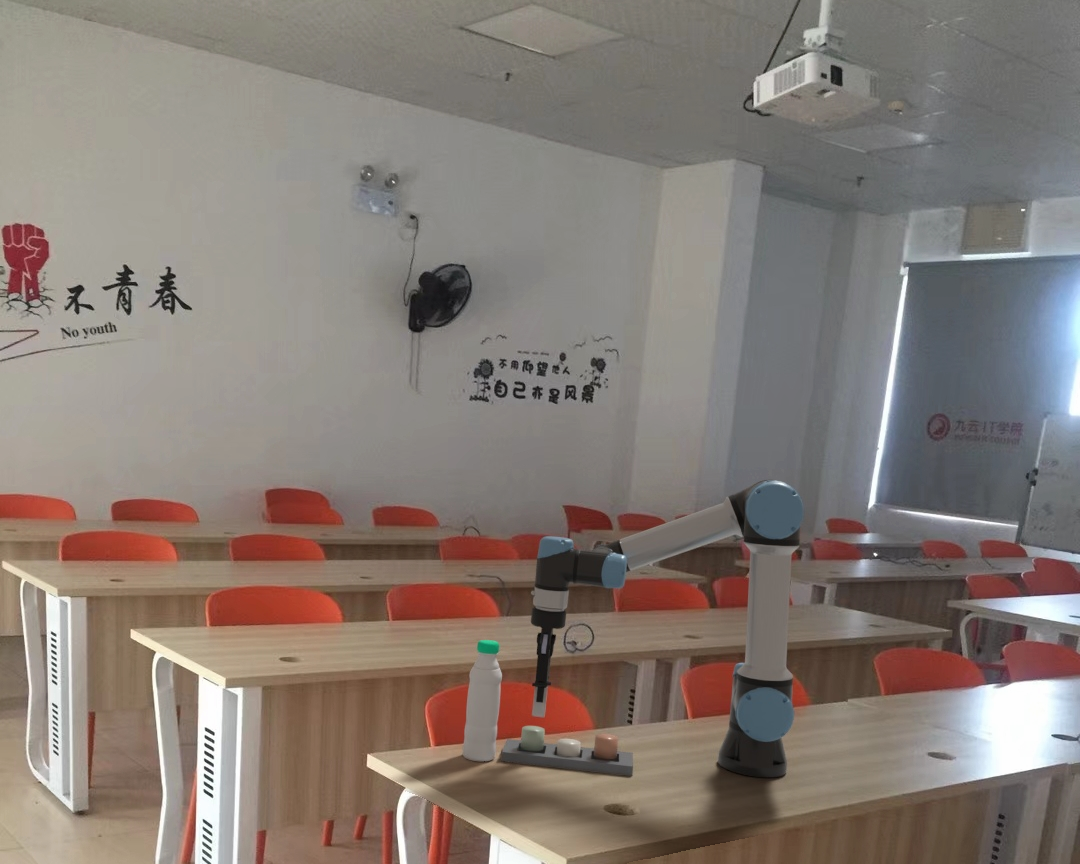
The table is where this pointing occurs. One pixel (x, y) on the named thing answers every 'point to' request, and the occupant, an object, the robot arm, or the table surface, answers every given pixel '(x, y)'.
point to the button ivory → (568, 748)
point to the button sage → (532, 738)
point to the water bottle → (483, 704)
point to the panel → (568, 759)
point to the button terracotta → (606, 746)
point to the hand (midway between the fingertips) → (538, 715)
